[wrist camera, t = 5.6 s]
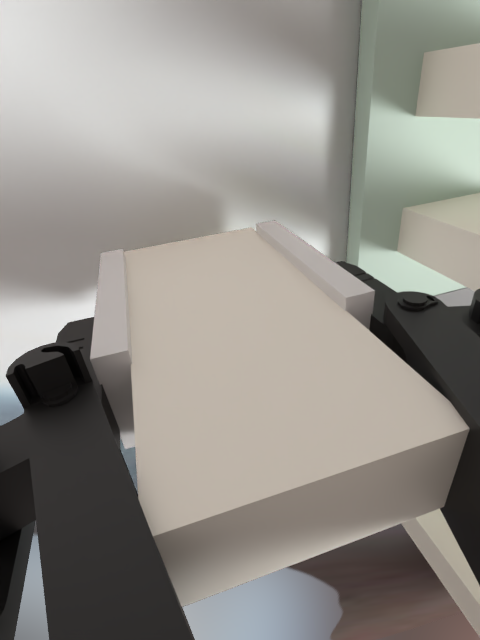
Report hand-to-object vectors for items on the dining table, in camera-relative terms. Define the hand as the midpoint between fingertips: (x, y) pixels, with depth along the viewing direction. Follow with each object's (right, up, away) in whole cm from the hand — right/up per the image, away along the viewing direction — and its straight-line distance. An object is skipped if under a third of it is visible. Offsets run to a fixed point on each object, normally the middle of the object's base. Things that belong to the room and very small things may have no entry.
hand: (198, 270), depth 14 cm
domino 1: (0, 0, +1) cm, 1 cm away
